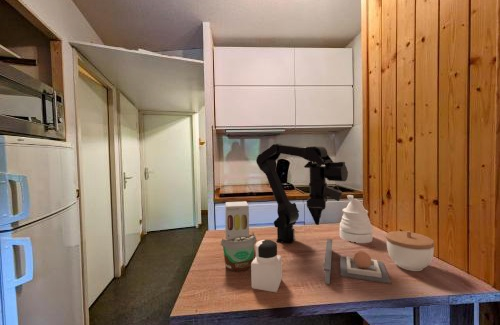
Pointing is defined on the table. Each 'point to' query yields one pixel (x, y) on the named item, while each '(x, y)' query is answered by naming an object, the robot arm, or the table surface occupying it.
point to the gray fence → (328, 261)
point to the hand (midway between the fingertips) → (318, 221)
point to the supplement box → (236, 219)
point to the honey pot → (355, 223)
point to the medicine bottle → (266, 267)
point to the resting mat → (364, 270)
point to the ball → (362, 260)
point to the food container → (239, 252)
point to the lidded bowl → (410, 249)
